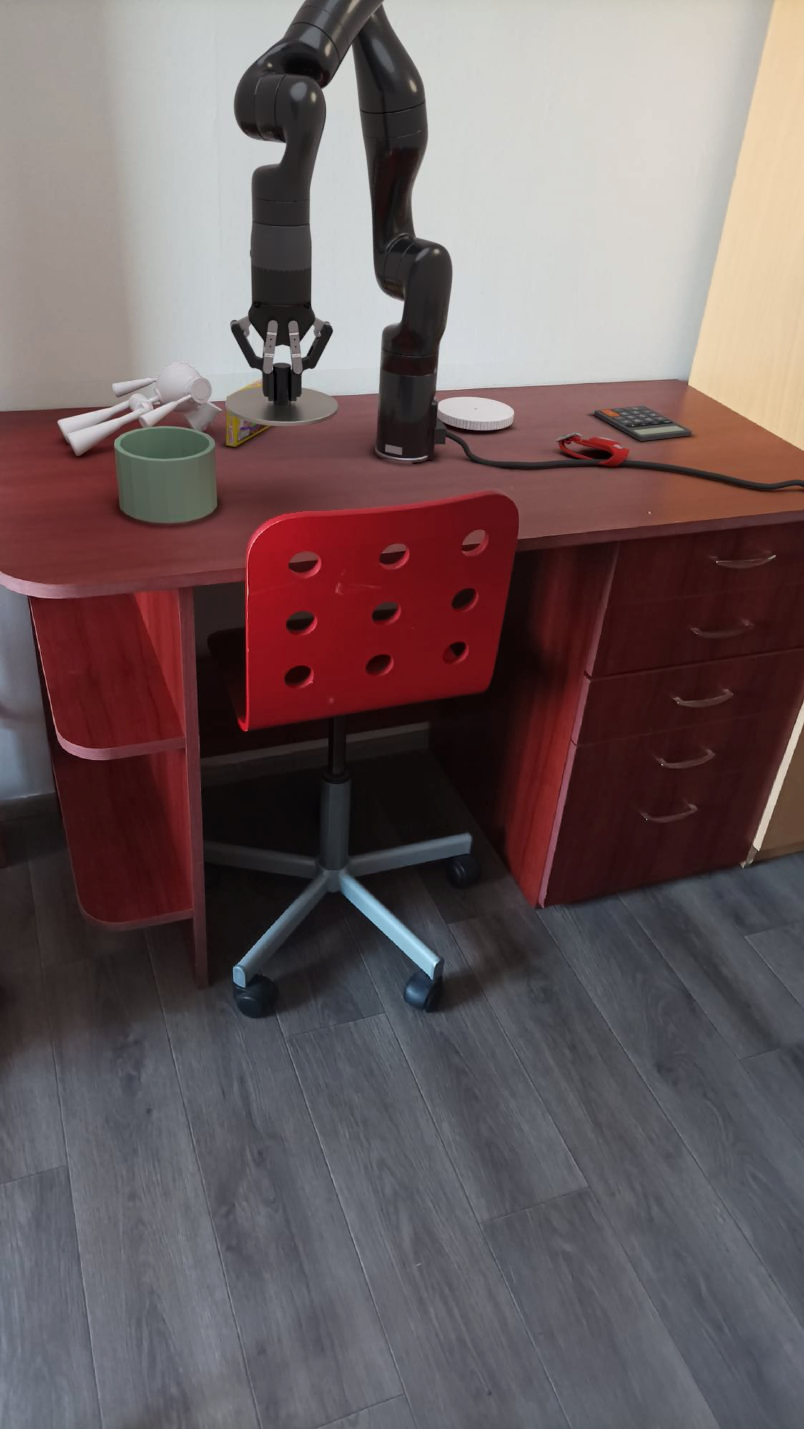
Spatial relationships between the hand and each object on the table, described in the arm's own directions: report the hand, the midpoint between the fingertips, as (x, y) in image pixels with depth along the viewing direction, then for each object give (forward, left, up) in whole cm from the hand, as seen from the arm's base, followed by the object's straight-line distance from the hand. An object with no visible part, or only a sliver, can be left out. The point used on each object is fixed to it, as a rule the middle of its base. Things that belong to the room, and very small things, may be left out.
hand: (282, 399), depth 139 cm
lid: (0, 0, -1) cm, 1 cm away
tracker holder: (-55, -25, -17) cm, 63 cm away
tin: (+16, -5, -17) cm, 24 cm away
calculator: (-70, -41, -17) cm, 83 cm away
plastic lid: (-38, -42, -17) cm, 59 cm away
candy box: (+2, -36, -17) cm, 40 cm away
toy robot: (+20, -32, -17) cm, 41 cm away
